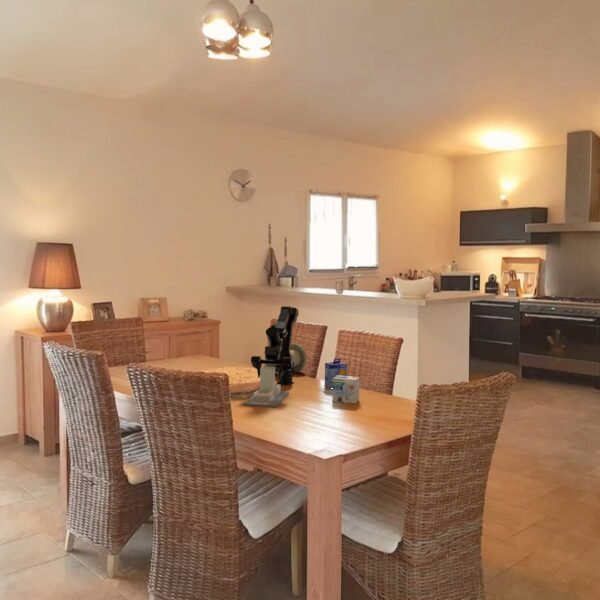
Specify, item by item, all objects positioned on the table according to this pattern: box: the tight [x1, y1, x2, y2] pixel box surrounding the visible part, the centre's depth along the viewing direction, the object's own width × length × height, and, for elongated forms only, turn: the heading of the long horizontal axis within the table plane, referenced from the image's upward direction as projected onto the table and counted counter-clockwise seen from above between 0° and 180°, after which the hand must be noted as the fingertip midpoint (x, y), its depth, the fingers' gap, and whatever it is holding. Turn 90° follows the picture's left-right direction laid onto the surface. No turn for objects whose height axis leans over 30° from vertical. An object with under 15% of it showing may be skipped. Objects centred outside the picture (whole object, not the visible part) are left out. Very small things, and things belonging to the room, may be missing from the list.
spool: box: [264, 343, 307, 376], centre depth 341 cm, size 16×15×15 cm
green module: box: [259, 365, 276, 397], centre depth 281 cm, size 5×6×13 cm
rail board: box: [243, 383, 290, 408], centre depth 281 cm, size 26×14×5 cm, turn 169°
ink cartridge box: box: [324, 358, 348, 390], centre depth 306 cm, size 10×6×14 cm, turn 115°
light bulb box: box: [331, 375, 361, 404], centre depth 279 cm, size 11×7×11 cm, turn 68°
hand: (268, 378), depth 282 cm, fingers open, 9 cm apart
